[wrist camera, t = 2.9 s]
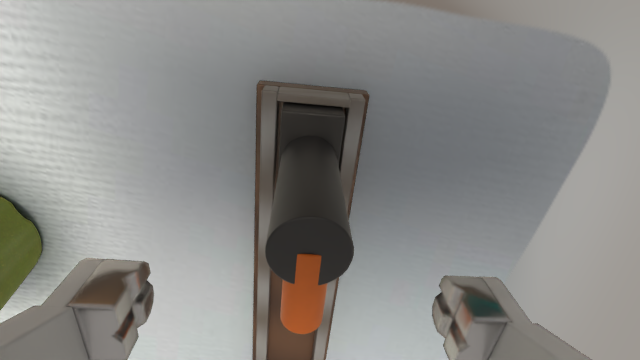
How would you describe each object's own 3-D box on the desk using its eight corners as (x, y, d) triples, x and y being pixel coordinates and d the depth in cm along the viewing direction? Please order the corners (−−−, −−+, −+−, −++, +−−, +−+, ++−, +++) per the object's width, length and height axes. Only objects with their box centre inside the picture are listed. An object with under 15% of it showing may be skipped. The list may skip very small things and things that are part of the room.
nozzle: (284, 97, 18) (263, 181, 9) (341, 102, 18) (370, 189, 10) (279, 198, 20) (258, 333, 12) (328, 201, 21) (342, 336, 12)
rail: (258, 80, 19) (251, 90, 16) (366, 90, 19) (375, 102, 17) (253, 407, 33) (249, 438, 30) (315, 409, 33) (315, 440, 31)
